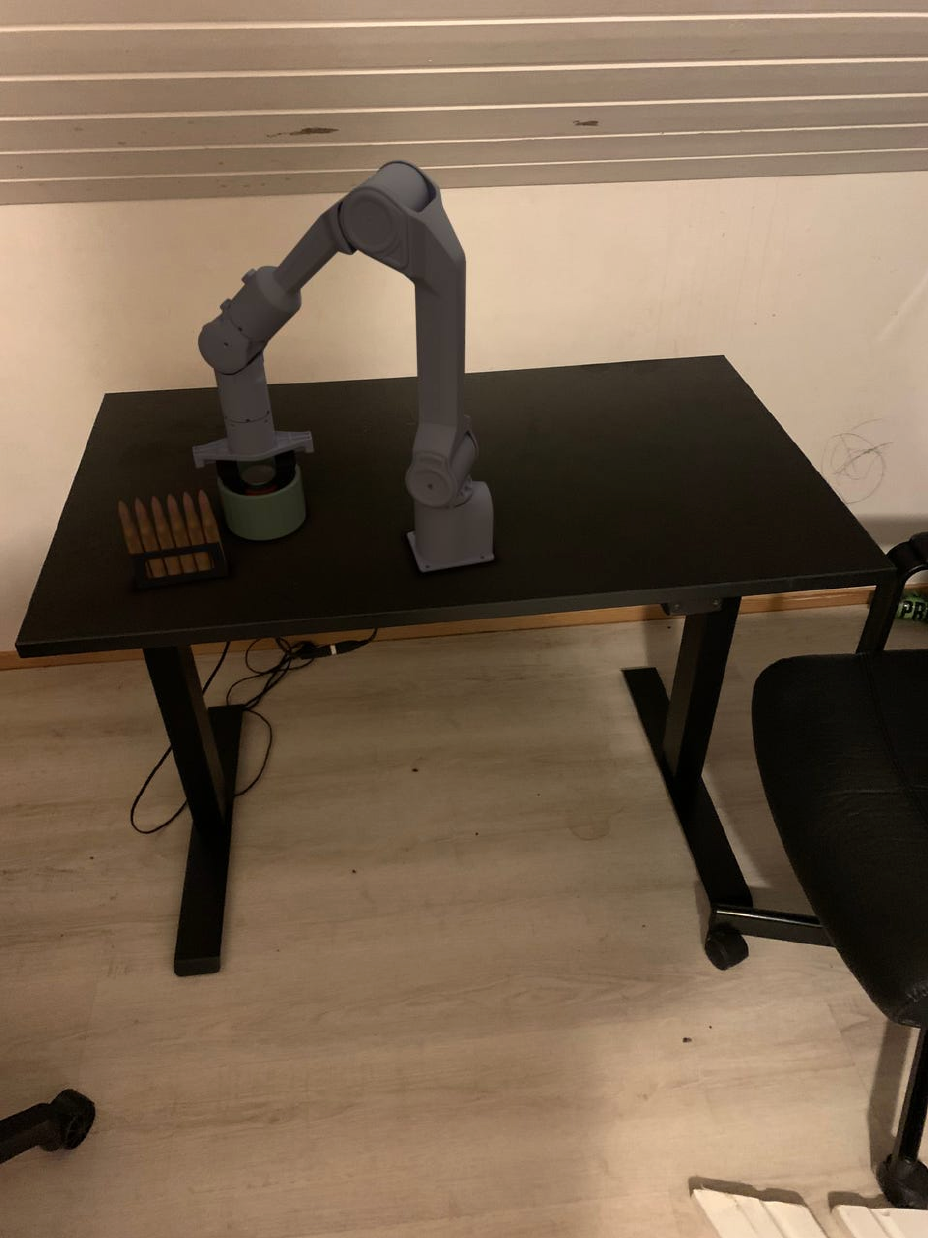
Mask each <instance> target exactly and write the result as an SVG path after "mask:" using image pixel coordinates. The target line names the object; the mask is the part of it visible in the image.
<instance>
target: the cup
mask: <svg viewBox="0 0 928 1238" xmlns="http://www.w3.org/2000/svg"><path fill="white" fill-rule="evenodd" d="M237 465H238V470H239V475H240V480H241V474H242V472H243V471H244V470H246V469H247V468H249V467H252V466H257V465H266V466H270V467H272V468H273V469H274V470H275V471H276V476H277V469H276V464H275V458H274V456H272V457H269V458H266V459H262V460H258V461H237ZM216 480H217V481H216V483H217V488H218V492H219V497H220V500H221V504H222V505H221V506H222V509H223V510H222V511H223V515H224V518H225V522H226V525H227V528H228V529H229V530H230V531H231V532H232V533H233V534H234V535H236V536H237V537H239V538H243V539H245V540H246V539H247V540H251V541H269V540H274V539H279V538H283V537H285V536H287V535H290V534H291V533H293V532H294V531H296V530H297V529H299V528H300V527H301V526H302V524H303V523H304V521H305V519H306V517H307V511H306V510H307V507H306V500H305V494H304V493H305V492H304V488H303V487H304V486H303V480H302V474H301V469H300V466H299V464H297V463H296V467H295V470H294V472H293V474H292V476H291V479H290V482H289V485H288V486H286V487H285V488H283V489H281V490H279V491H277V492H274V493H271V494H267V495H260V496H245V495H239V494H236V493H234V492H232V491H231V490H230V488H229V487H228V486H227V485H226V484H225V483H224V482H223V481H222V480H221V479H220V477H219V476H218V475H217V478H216ZM277 481H278V477H277ZM241 483H242V480H241ZM242 487H243V486H242Z"/></svg>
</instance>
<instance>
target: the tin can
mask: <svg viewBox="0 0 928 1238" xmlns="http://www.w3.org/2000/svg"><path fill="white" fill-rule="evenodd" d="M241 480H242V486H243V491H244V495H245V496H260V495H267V494H271V493H274V492H277V491H279V487H278V481H277V476H276V471H275V470H274V469H273V468H272V467H270V466H266V465H257V466H252V467H249V468H247V469H246V470H244V471H243V472H242V474H241Z"/></svg>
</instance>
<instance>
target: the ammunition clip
mask: <svg viewBox="0 0 928 1238" xmlns="http://www.w3.org/2000/svg"><path fill="white" fill-rule="evenodd" d="M166 501H167V503H166V504H167V511H168V516H169V520H170V524H169V523H168V521H167V517H166V515H165V512H164V509H163V507H162V505H161V502H160V501H159V500H158V498H157V497H156V496H155V495H153V496H151V503H150V504H151V513H152V516H153V520H154V526H153V524H152V523H151V520H150V517H149V515H148V512H147V509H146V507H145V505H144V504H143V502H142V501H141V499H139V498H138V497H136V498H135V501H134V509H135V515H136V518H137V524H138V528H137V527H136V525H135V523H134V519H133V518H132V515H131V512H130V511H129V509H128V507H127V505H126V504H125V503H124V501H122V500H119V501H118V515H119V518H120V523H121V527H122V534H123V538H124V540H125V544H126V547H127V550H128V552H129V553H128V554H129V558H130V562H131V566H132V569H133V573H134V578H135V581H136V585H137V588H138V589H139V590H140V589H147V588H153V587H160V586H167V585H173V584H180V583H186V582H193V581H199V580H206V579H213V578H218V577H225V576H229V573H230V572H229V571H230V570H229V564H228V560H227V557H226V554H225V550H224V547H223V544H222V541H221V537H220V532H219V528H218V524H217V520H216V517H215V516H214V513H213V510H212V508H211V503H210V501H209V498H208V496H207V495H206V492H205V491H204V490H203V489H200V490H199V491H198V506H199V510H200V516H201V519H199V516H198V513H197V510H196V508H195V505H194V502H193V499H192V498H191V496H190V494H189V493H188V492H187V491H184V492H183V496H182V504H183V510H184V515H185V521H184V519H183V517H182V514H181V512H180V509H179V508H180V507H179V505H178V503H177V501H176V499H175V497H174V496H173V495H172V494H171V493H168V494H167V499H166Z"/></svg>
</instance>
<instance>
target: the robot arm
mask: <svg viewBox="0 0 928 1238" xmlns="http://www.w3.org/2000/svg"><path fill="white" fill-rule="evenodd" d="M357 251H359V253H362V254H363V255H365V256H366V257H368V258H370V259H373V260H375V261H376V262H378V263H380V264H382V265H383V266H386V267H388V268H390V269H392V270H394V271H396V272H397V273H400V274H402V275H403V276H405V277H406V278H407V279H408V280H409V281H410V282H411V283H412V284H413V286H414V304H415V305H414V309H415V310H414V311H415V315H414V317H415V346H416V347H415V349H416V380H417V381H416V382H417V383H416V384H417V385H416V386H417V416H418V417H417V418H418V419H417V420H418V425H417V428H416V433H415V438H414V440H413V445H412V450H411V456H412V459H411V463H410V465H409V467H408V469H407V470H406V473H405V478H404V482H405V487H406V489H407V492H408V493H409V495H410V496H411V497H412V498H413V499H412V500H413V519H414V520H413V521H414V530H413V531H409V532H407V533H406V537H407V540H408V543H409V545H410V548H411V550H412V553H413V556H414V559H415V561H416V564H417V567H418V569H419V571H420V572H421V573H426V572H433V571H438V570H439V571H440V570H445V569H452V568H457V567H462V566H463V567H464V566H469V565H474V564H480V563H486V562H491V561H494V560H495V555H494V553H493V547H494V543H493V542H494V505H493V499H492V494H491V491H490V488H489V486H488V484H487V483H486V482H485V481H475V480H473V479H472V476H471V474H470V470H471V468H472V466H473V465H474V464H475V462H476V461H477V459H478V457H479V444H478V440H477V439H476V437H475V435H474V432H473V429H472V418H471V416H469V415H468V414H466V413H465V410H466V409H465V404H466V403H465V400H466V399H465V398H466V397H465V396H466V395H465V393H466V323H467V322H466V319H467V317H466V315H467V314H466V313H467V312H466V311H467V308H466V307H467V259H466V258H467V257H466V253H465V250H464V247H463V245H462V244H461V242H460V239H459V238H458V235H457V232H456V231H455V229H454V227H453V225H452V223H451V221H450V218H449V217H448V213H446V210H445V208H444V205H443V200H442V193H441V188H440V186H439V184H437V183H436V182H435V180H433V179H432V178H431V177H430V176H429V175H428V174H427V173H426V172H425V171H424V170H422V169H421V168H420V167H419V166H418V165H417V164H415V163H413V162H411V161H408V160H405V159H393V160H390V161H387V162H386V163H384V164H383V165H382V166H380V167H379V169H377V171H376V173H375V174H373V175H372V176H371V177H370V178H369V177H368V178H366V179H365V180H364V181H362V182H361V183H360V184H359V185H358V186H356V187H354V188H352V190H351V191H349V192H348V193H347V194H345V195H344V196H343V197H342V198H340V199H339V200H337V201H336V202H335V203H334V204H332V205H331V206H330V207H329V208H327V209H326V210H325V211H323V212H322V213H321V214H320V215H319V216H318V217H317V218H316V220H315V221H314V222H313V224H312V225H310V227H309V228H308V230H307V231H306V232H305V233H304V235H303V236H302V237H301V238H300V239H299V241H298V242H297V243H296V244H295V245H294V247H293V248H292V249H291V250H290V251H289V253H288V254H287V255H286V256H285V258H284V259H283V260H282V261H281V263H280V264H279V265H278V266H275V265H263V266H260V267H259V268H258V269H255V268H253V267H252V268H251V269H250V270H248V271H246V273H245V274H244V275H243V276H242V277H241V280H240V281H241V282H242V283H243V284H244V285H242V287H241V288H240V289H239V290H238V291H237V293H236V294H235V295H234V296H233V297H232V298H226V299H225V300H224V301H223V302H222V303H221V304H220V305H219V309H220V310H221V313H220V314H219V315H217V316H216V317H215V318H214V319H213V320H211V321H209V322H207V323H205V324H204V325H202V328H201V331H200V333H199V335H198V337H197V347H198V351H199V353H200V355H201V357H202V358H203V360H204V361H205V363H206V364H207V365H208V366H210V367H211V368H212V369H213V373H214V378H215V382H216V389H217V392H218V398H219V402H220V406H221V407H220V408H221V411H222V417H223V421H224V426H225V431H226V436H227V437H225V438H221V439H218V440H215V441H212V442H208V443H205V444H202V445H195V446H192V456H193V460H194V465H195V468H196V469H200V468H201V469H203V468H205V467H206V465H209V464H215V466H216V473H217V477H218V476H219V477H220V479H221V480H222V481H223V482H224V483H225V484H226V485H227V486H228V487H229V488H230V490H231V491H232V492H234V493H236V494H239V495H244V491H243V487H242V483H241V480H240V475H239V470H238V465H237V461H258V460H262V459H266V458H269V457H272V456H274V458H275V464H276V469H277V477H278V487H279V490H281V489H283V488H285V487H286V486H288V485H289V482H290V479H291V476H292V474H293V472H294V470H295V467H296V464H297V460H296V455H295V454H296V453H297V452H305V453H306V454H310V453H314V452H315V450H314V441H313V436H312V432H311V431H310V430H308V431H281V430H279V431H278V430H275V425H274V418H273V412H272V407H271V401H270V394H269V389H268V382H267V377H266V370H265V358H264V356H265V355H264V351H265V349H266V348H267V346H268V344H269V342H270V341H271V340H272V339H273V338H274V336H275V335H276V334H277V333H278V332H279V331H280V330H282V329H283V327H284V326H285V325H286V324H288V322H289V321H290V320H291V319H292V318H293V317H294V316H295V315H296V314H297V313H298V312H299V311H300V309H301V307H302V304H303V298H302V291H301V290H302V288H303V287H305V286H306V284H307V283H309V281H310V280H311V279H313V277H314V276H316V274H318V272H320V271H321V269H322V268H324V267H325V266H326V265H327V264H328V263H329V262H330V261H331V260H332V259H333V258H334V257H335V256H336V255H337V254H338V253H341V254H343V255H347V256H353V255H354V254H355V253H356V252H357Z"/></svg>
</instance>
